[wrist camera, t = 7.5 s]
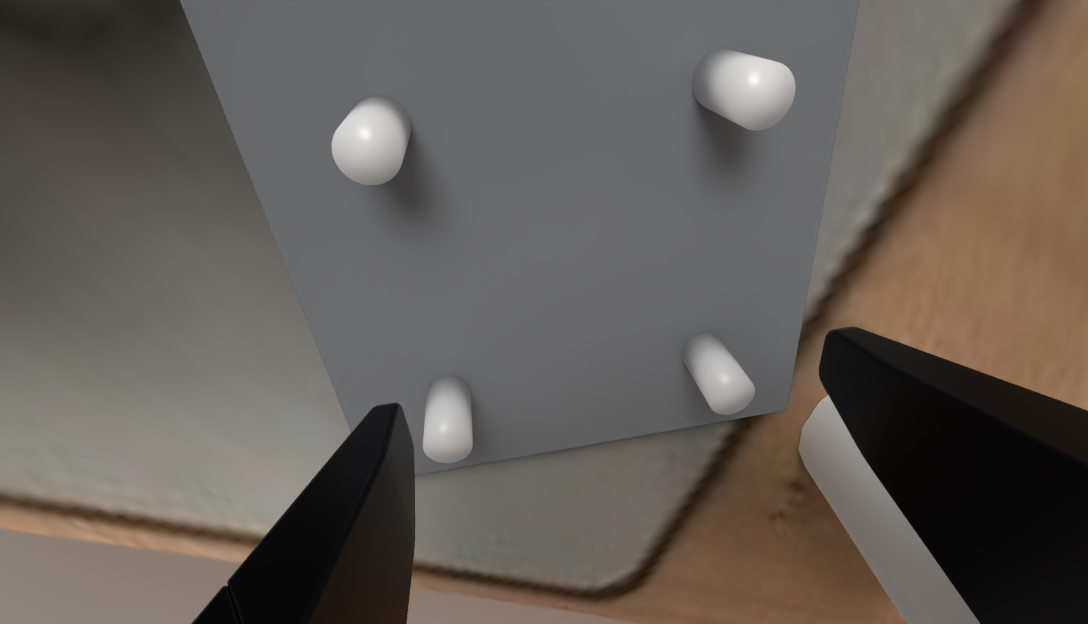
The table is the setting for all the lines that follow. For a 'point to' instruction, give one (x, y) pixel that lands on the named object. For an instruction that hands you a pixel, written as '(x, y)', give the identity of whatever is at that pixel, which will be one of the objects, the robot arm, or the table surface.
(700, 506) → the table surface
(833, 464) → the white cup
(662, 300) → the pin tray
